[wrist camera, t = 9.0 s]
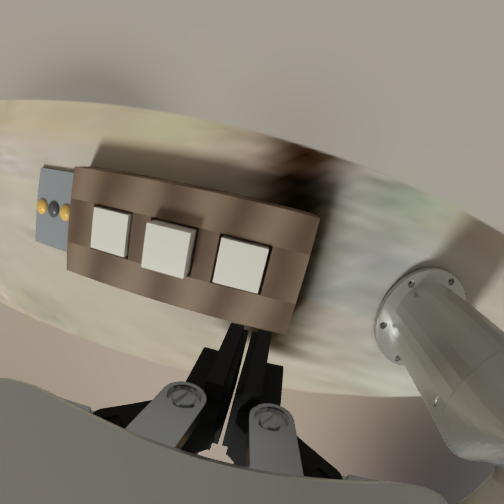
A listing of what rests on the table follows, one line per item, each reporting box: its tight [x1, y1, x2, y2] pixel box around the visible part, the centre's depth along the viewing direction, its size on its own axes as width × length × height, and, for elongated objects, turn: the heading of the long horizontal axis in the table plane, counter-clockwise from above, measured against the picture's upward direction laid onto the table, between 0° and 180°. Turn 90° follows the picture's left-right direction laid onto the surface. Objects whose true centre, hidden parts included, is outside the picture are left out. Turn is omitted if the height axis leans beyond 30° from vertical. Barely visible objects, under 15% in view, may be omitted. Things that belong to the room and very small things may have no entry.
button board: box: [67, 167, 320, 334], centre depth 30 cm, size 26×12×3 cm, turn 77°
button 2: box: [91, 205, 133, 257], centre depth 29 cm, size 4×4×2 cm
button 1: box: [213, 234, 270, 294], centre depth 29 cm, size 4×4×2 cm
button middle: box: [141, 219, 197, 279], centre depth 28 cm, size 4×4×2 cm
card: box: [36, 168, 74, 252], centre depth 31 cm, size 7×10×1 cm
